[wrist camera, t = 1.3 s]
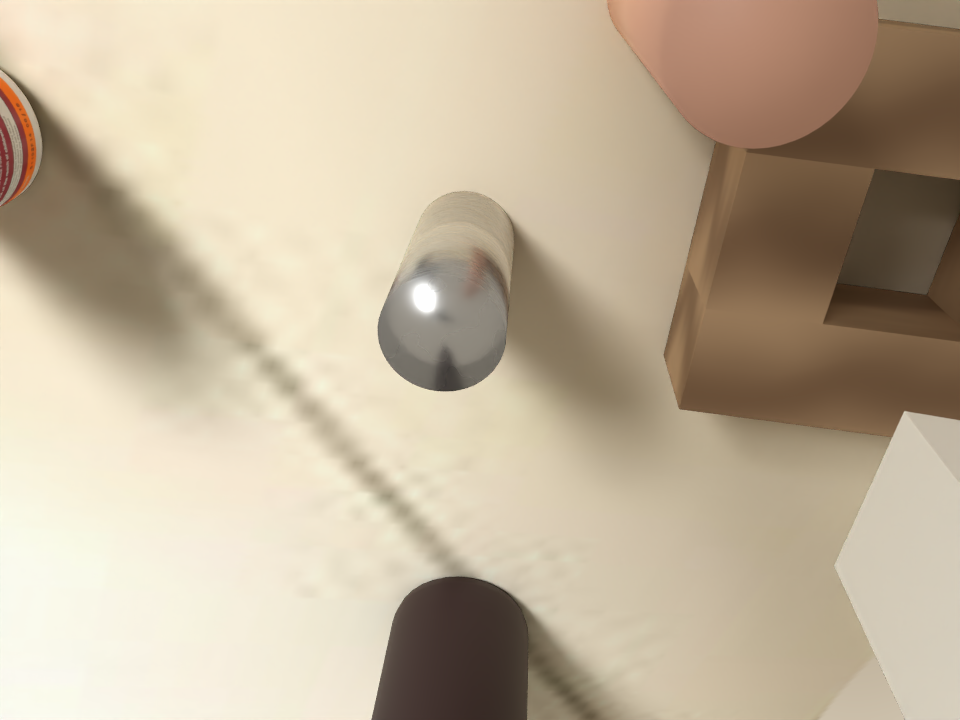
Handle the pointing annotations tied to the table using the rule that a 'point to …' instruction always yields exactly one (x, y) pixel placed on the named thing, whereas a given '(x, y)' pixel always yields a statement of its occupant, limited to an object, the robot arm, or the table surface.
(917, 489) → the robot arm
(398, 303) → the medium pin
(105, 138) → the table surface
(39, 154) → the pill bottle
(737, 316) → the hole block
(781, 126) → the long pin
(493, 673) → the wine bottle
